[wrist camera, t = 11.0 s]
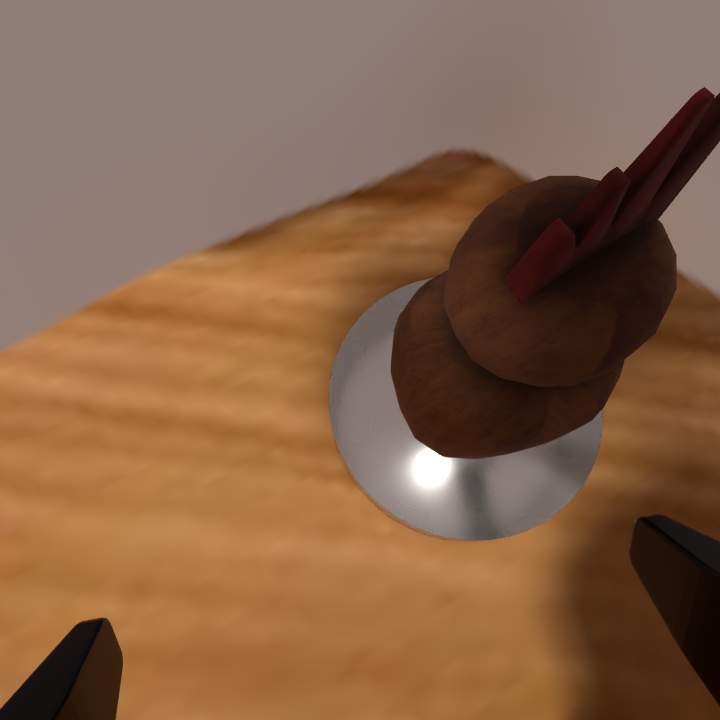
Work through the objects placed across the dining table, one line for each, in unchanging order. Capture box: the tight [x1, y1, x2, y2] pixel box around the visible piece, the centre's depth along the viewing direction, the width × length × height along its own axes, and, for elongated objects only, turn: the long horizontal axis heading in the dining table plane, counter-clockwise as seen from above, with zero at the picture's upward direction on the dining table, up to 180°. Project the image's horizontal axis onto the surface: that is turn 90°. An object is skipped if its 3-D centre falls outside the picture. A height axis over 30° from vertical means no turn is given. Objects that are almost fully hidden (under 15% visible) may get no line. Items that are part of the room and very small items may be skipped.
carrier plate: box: [329, 278, 603, 541], centre depth 22 cm, size 11×11×2 cm
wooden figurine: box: [391, 87, 720, 459], centre depth 14 cm, size 7×6×15 cm
